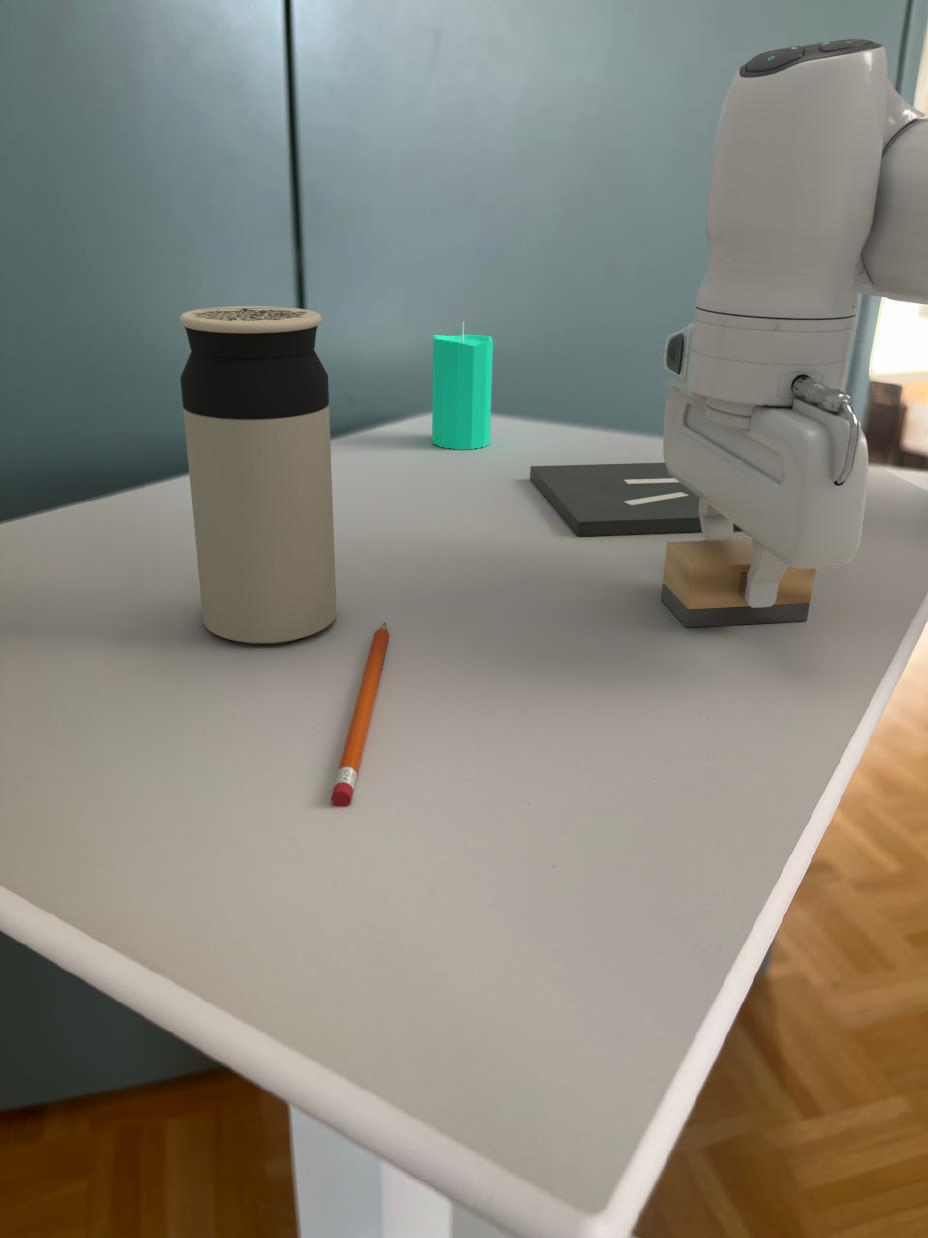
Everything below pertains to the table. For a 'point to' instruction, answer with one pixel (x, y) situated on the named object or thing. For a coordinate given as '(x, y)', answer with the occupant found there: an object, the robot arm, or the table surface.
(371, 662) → the pencil
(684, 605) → the eraser
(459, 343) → the candle
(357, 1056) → the table surface
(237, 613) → the travel mug
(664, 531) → the slate board
